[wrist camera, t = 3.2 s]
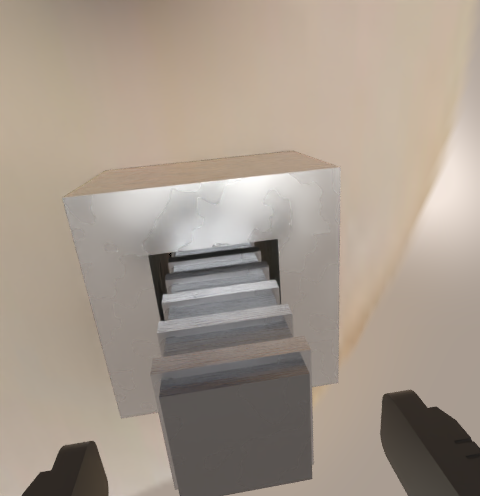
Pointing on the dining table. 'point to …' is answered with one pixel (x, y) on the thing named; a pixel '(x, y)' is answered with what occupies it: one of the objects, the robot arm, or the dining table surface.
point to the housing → (205, 236)
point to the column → (231, 376)
